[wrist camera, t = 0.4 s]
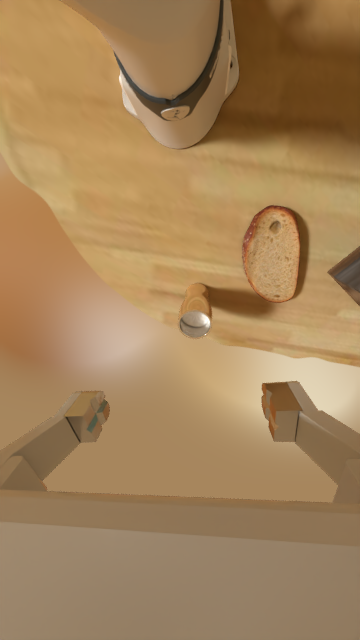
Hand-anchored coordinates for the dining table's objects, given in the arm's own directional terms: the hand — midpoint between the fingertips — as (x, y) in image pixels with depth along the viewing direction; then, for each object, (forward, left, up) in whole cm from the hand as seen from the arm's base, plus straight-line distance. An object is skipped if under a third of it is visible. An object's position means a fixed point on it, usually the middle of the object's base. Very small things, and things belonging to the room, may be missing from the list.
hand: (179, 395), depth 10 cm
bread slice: (+4, +17, -40) cm, 44 cm away
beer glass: (+11, -1, -40) cm, 41 cm away
